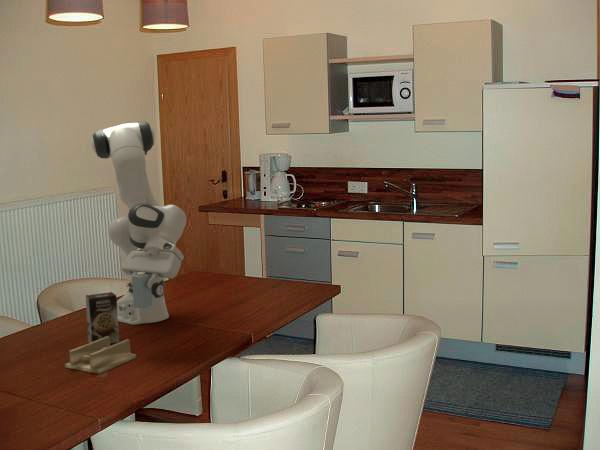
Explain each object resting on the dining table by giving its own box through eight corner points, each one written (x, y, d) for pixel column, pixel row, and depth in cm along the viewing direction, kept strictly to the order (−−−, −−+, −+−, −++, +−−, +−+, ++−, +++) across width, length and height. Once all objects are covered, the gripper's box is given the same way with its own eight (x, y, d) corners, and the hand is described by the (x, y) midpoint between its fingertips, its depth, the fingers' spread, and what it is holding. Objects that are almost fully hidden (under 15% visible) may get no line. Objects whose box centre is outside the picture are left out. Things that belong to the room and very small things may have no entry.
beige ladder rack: (64, 367, 226) (63, 350, 225) (102, 351, 240) (101, 335, 239) (99, 373, 219) (98, 356, 218) (136, 357, 233) (135, 340, 232)
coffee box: (92, 347, 245) (88, 298, 243) (88, 342, 251) (84, 294, 248) (120, 342, 249) (116, 295, 247) (115, 337, 255) (112, 291, 252)
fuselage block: (134, 307, 235) (131, 273, 233) (142, 304, 238) (140, 271, 237) (144, 308, 233) (141, 274, 231) (152, 305, 236) (150, 271, 235)
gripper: (128, 242, 244) (109, 278, 237) (179, 246, 234) (161, 283, 227) (138, 253, 248) (120, 289, 241) (188, 257, 238) (171, 294, 231)
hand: (140, 286), depth 234 cm, fingers closed on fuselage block, 4 cm apart
